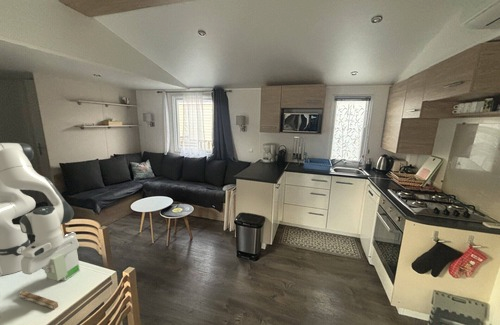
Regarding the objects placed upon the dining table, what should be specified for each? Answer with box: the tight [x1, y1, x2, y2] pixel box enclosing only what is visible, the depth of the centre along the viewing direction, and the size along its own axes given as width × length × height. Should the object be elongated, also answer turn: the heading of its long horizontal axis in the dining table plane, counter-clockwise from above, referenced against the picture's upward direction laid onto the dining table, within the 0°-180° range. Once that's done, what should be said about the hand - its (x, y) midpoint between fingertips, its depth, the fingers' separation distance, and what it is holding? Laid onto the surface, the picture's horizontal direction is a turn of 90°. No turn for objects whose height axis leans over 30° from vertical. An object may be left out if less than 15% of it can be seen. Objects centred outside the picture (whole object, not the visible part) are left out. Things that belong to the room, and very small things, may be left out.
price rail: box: [19, 290, 59, 311], centre depth 92 cm, size 22×2×2 cm, turn 75°
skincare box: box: [59, 248, 81, 282], centre depth 107 cm, size 8×7×16 cm
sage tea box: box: [45, 254, 68, 281], centre depth 94 cm, size 7×4×11 cm, turn 75°
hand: (55, 268), depth 94 cm, fingers closed on sage tea box, 4 cm apart
